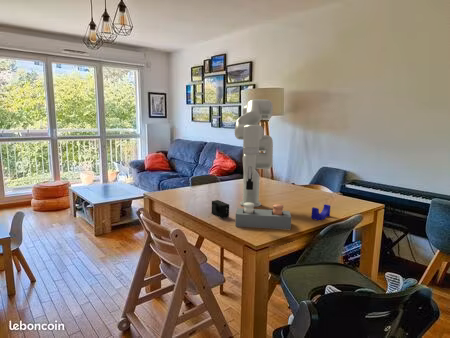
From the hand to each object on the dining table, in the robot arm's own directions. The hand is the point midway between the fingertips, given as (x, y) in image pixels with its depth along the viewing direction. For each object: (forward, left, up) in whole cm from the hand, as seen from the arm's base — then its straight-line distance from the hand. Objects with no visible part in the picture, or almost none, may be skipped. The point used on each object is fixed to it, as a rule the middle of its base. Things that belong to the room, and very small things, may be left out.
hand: (249, 189), depth 146 cm
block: (-1, +7, -17) cm, 19 cm away
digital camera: (-11, -16, -18) cm, 26 cm away
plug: (-1, 0, -13) cm, 13 cm away
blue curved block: (-17, +38, -18) cm, 46 cm away
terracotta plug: (-1, +14, -13) cm, 19 cm away
